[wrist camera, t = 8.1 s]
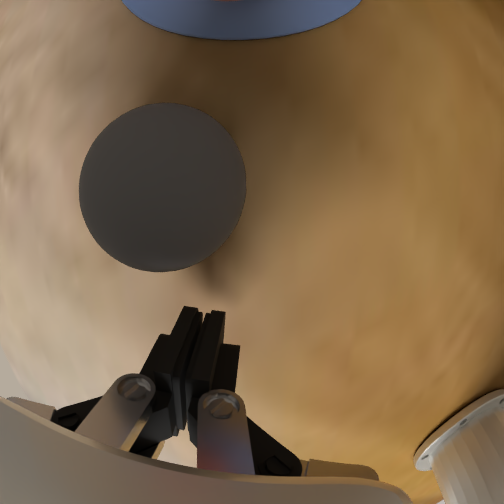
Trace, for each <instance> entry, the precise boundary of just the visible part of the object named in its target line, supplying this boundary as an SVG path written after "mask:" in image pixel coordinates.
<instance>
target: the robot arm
mask: <svg viewBox="0 0 504 504" xmlns="http://www.w3.org/2000/svg"><path fill="white" fill-rule="evenodd" d="M202 321H203V313H202V312H198V308H194V307H187V306H184V307H183V309H182V311H181V313H180V315H179V318H178V320H177V322H176V324H175V326H174V328H173V330H172V332H171V334H170V335H166V334H160V335H159V337H158V339H157V341H156V343H155V344H154V346H153V348H152V350H151V352H150V354H149V356H148V358H147V360H146V362H145V364H144V366H143V368H142V370H141V372H140V374H126V375H124V376H121V377H120V378H118V379H117V380H116V381H115V382H114V383H113V385H112V386H111V387H110V388H109V390H108V391H107V392H106V393H105V394H104V396H101V397H97V398H94V399H91V400H87V401H84V402H81V403H77V404H73V405H70V406H66V407H63V408H61V409H59V410H56V409H55V407H53V406H49V405H44V404H40V403H36V402H32V401H28V400H25V399H21V398H18V397H9V398H7V399H5V398H3V397H0V504H413V502H412V501H411V499H410V498H409V496H408V495H407V494H406V493H405V492H404V491H403V490H401V489H400V488H398V487H396V486H394V485H391V484H388V483H385V482H381V481H379V478H378V474H377V473H376V472H375V470H373V469H372V468H370V467H368V466H363V465H354V464H344V463H335V462H328V461H321V460H314V459H309V461H305V460H299V459H298V458H297V457H296V456H295V455H294V454H293V453H292V452H290V451H289V450H288V449H286V448H285V447H284V446H283V445H281V444H280V443H279V442H277V441H276V440H275V439H274V438H272V437H271V436H270V435H269V434H267V433H266V432H265V431H264V430H262V429H261V428H260V427H259V426H258V425H256V424H255V423H254V422H253V421H252V420H251V419H249V418H248V417H247V416H246V409H245V404H244V401H243V400H242V398H241V397H240V396H239V395H237V394H236V393H235V387H236V378H237V369H238V361H239V352H240V346H239V345H231V344H223V339H224V326H225V312H223V311H215V310H212V311H211V313H206V315H205V318H204V321H203V324H202ZM186 422H187V423H188V431H189V435H190V441H191V442H192V443H193V444H194V445H195V447H196V448H197V468H193V467H188V466H183V465H178V464H173V463H169V462H164V461H160V460H157V458H158V456H159V454H160V452H161V450H162V448H163V446H164V443H165V440H166V439H168V438H170V437H172V436H178V433H179V429H181V430H184V429H185V426H186ZM413 461H414V465H415V467H416V469H418V470H420V471H428V470H433V472H434V475H435V477H436V480H437V483H438V485H439V488H440V490H441V493H442V496H443V498H444V501H445V504H504V389H500V390H495V391H493V392H490V393H488V394H486V395H484V396H483V397H481V398H479V399H478V400H476V401H474V402H473V403H471V404H470V405H468V406H467V407H465V408H464V409H463V410H461V411H460V412H459V413H457V414H456V415H455V416H453V417H452V418H451V419H449V420H448V421H447V422H446V423H444V424H443V425H442V426H441V427H440V428H439V429H437V430H436V431H435V432H434V433H433V434H432V435H431V436H430V437H429V438H428V439H427V440H426V441H425V442H424V443H423V444H422V445H421V446H420V448H419V449H418V450H417V452H416V454H415V456H414V459H413Z"/></svg>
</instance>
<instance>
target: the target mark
mask: <svg viewBox="0 0 504 504" xmlns="http://www.w3.org/2000/svg"><path fill="white" fill-rule="evenodd" d="M360 1H361V0H239V1H215V0H122V2H123V3H124V4H125V5H126V6H127V8H128V9H129V10H130V11H131V12H132V13H133V14H135V15H136V16H137V17H139V18H140V19H141V20H143V21H145V22H147V23H149V24H151V25H153V26H155V27H157V28H160V29H163V30H166V31H168V32H172V33H176V34H180V35H184V36H190V37H197V38H203V39H217V40H251V39H266V38H273V37H280V36H286V35H291V34H295V33H300V32H304V31H308V30H311V29H314V28H317V27H320V26H323V25H325V24H327V23H330V22H332V21H335V20H336V19H338V18H340V17H341V16H343V15H345V14H347V13H348V12H349V11H351V10H352V9H353V8H354V7H356V6H357V5H358V4H359V3H360Z"/></svg>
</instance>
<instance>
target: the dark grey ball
mask: <svg viewBox="0 0 504 504" xmlns="http://www.w3.org/2000/svg"><path fill="white" fill-rule="evenodd" d="M245 195H246V173H245V167H244V163H243V160H242V156H241V154H240V152H239V149H238V147H237V145H236V144H235V142H234V140H233V139H232V137H231V136H230V134H229V133H228V132H227V131H226V130H225V128H224V127H223V126H222V125H220V124H219V123H218V122H217V121H216V120H215V119H213V118H212V117H211V116H209V115H208V114H206V113H204V112H202V111H200V110H198V109H195V108H192V107H189V106H186V105H181V104H176V103H157V104H149V105H145V106H142V107H138V108H136V109H133V110H131V111H129V112H127V113H125V114H123V115H121V116H120V117H118V118H117V119H116V120H114V121H113V122H111V123H110V124H109V125H108V126H107V127H106V128H105V129H104V130H103V131H102V132H101V133H100V134H99V135H98V137H97V138H96V139H95V141H94V142H93V144H92V146H91V148H90V149H89V151H88V153H87V155H86V157H85V160H84V163H83V166H82V170H81V175H80V180H79V201H80V207H81V211H82V215H83V218H84V220H85V223H86V225H87V227H88V229H89V231H90V233H91V235H92V236H93V238H94V239H95V240H96V242H97V243H98V244H99V245H100V246H101V248H102V249H103V250H104V251H106V252H107V253H108V254H109V255H110V256H112V257H113V258H115V259H116V260H118V261H119V262H121V263H123V264H125V265H127V266H130V267H132V268H135V269H139V270H143V271H150V272H169V271H177V270H180V269H184V268H187V267H190V266H192V265H195V264H197V263H199V262H200V261H202V260H204V259H205V258H207V257H208V256H210V255H211V254H213V253H214V252H215V251H216V250H217V249H218V248H219V247H220V246H221V245H222V244H223V243H224V242H225V241H226V240H227V239H228V237H229V236H230V234H231V233H232V231H233V229H234V228H235V226H236V225H237V222H238V220H239V218H240V216H241V212H242V209H243V206H244V202H245Z"/></svg>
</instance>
